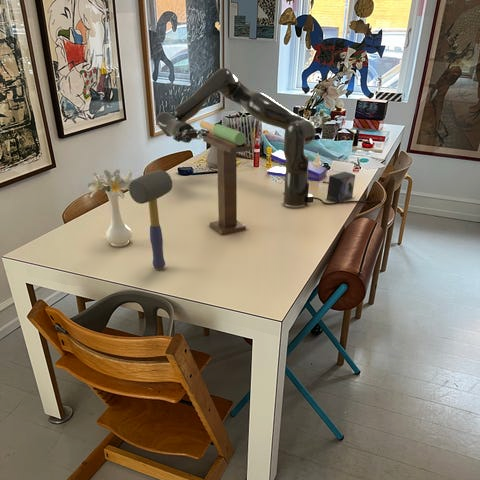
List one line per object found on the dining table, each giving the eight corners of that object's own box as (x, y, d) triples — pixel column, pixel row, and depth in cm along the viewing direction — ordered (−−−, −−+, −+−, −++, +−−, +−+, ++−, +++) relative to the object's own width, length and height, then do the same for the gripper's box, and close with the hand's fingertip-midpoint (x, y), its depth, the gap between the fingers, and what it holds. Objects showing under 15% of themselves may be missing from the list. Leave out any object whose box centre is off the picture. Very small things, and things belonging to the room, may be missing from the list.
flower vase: (148, 235, 175) (140, 165, 161) (123, 255, 160) (112, 180, 146) (116, 230, 178) (106, 162, 164) (89, 250, 163) (75, 177, 150)
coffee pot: (202, 167, 251) (201, 137, 242) (211, 162, 260) (210, 133, 251) (240, 171, 244) (240, 141, 236) (248, 166, 253) (248, 136, 245)
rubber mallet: (156, 279, 146) (145, 181, 129) (137, 273, 149) (124, 177, 133) (180, 263, 155) (173, 170, 138) (162, 258, 158) (153, 166, 142)
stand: (204, 222, 186) (200, 134, 168) (226, 217, 190) (225, 131, 172) (228, 239, 171) (227, 145, 153) (252, 234, 175) (254, 142, 158)
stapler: (275, 168, 249) (276, 149, 244) (327, 175, 238) (329, 155, 233) (266, 174, 240) (267, 154, 235) (319, 181, 230) (321, 160, 224)
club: (197, 130, 176) (197, 118, 174) (207, 129, 177) (207, 117, 175) (234, 146, 155) (234, 133, 153) (245, 144, 157) (245, 131, 155)
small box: (337, 203, 204) (340, 178, 198) (325, 199, 208) (328, 175, 202) (353, 198, 209) (356, 174, 204) (341, 194, 213) (344, 170, 208)
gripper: (165, 123, 195) (181, 130, 183) (197, 120, 201) (214, 126, 189) (167, 142, 199) (183, 150, 187) (197, 138, 205) (215, 146, 193)
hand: (198, 138), depth 188 cm, fingers open, 8 cm apart
